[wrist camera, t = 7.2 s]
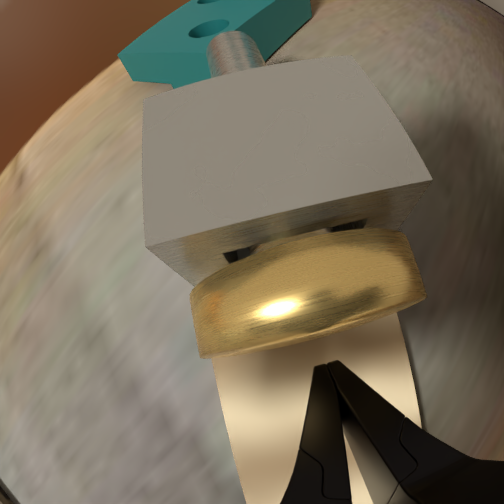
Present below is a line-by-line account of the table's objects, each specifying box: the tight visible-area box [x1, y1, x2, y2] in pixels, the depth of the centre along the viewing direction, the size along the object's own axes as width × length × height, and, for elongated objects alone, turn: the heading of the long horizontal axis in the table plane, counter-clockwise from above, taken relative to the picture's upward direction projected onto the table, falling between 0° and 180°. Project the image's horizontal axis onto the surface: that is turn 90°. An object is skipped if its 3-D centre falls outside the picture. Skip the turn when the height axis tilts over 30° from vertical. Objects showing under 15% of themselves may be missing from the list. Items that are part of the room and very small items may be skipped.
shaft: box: [190, 31, 427, 359], centre depth 13 cm, size 17×8×8 cm, turn 12°
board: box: [212, 312, 422, 504], centre depth 15 cm, size 22×10×1 cm, turn 12°
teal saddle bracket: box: [118, 0, 312, 89], centre depth 21 cm, size 18×11×10 cm, turn 150°
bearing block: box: [142, 55, 433, 287], centre depth 13 cm, size 6×8×9 cm
